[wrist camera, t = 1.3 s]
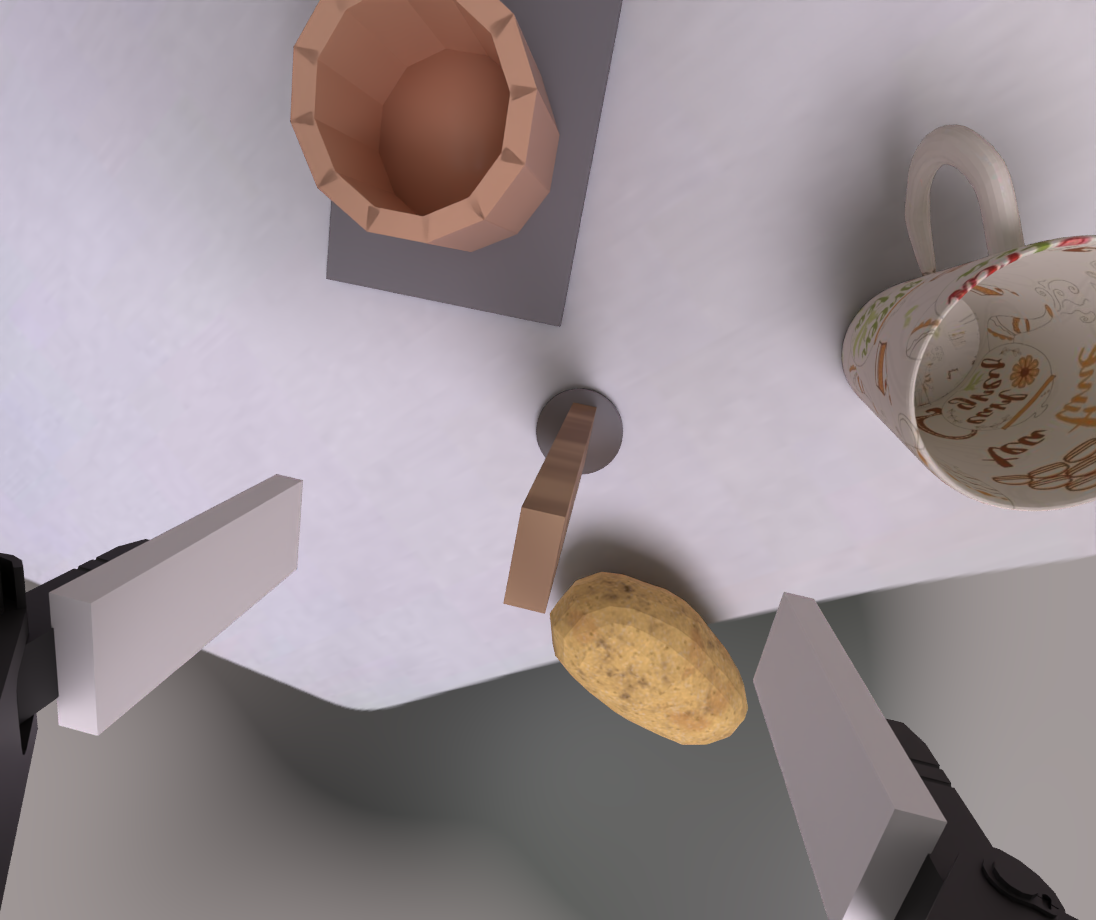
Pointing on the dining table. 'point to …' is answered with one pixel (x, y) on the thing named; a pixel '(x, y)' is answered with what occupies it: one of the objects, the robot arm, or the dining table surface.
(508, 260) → the mat
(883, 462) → the dining table surface
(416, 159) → the jar
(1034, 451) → the mug
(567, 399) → the long wooden stick
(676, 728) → the potato
